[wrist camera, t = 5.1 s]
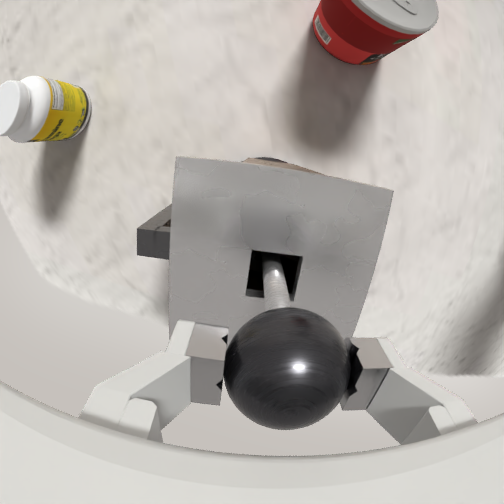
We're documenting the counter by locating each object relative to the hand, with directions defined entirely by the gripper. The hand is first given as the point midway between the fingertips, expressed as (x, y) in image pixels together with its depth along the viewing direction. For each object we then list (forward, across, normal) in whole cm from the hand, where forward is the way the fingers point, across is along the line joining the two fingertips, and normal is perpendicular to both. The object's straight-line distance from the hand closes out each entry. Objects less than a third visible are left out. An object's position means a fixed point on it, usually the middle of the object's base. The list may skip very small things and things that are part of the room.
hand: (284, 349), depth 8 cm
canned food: (+20, -6, -20) cm, 29 cm away
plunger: (+14, 0, 0) cm, 14 cm away
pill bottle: (+20, +22, -9) cm, 31 cm away
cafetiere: (+20, +1, 0) cm, 20 cm away
